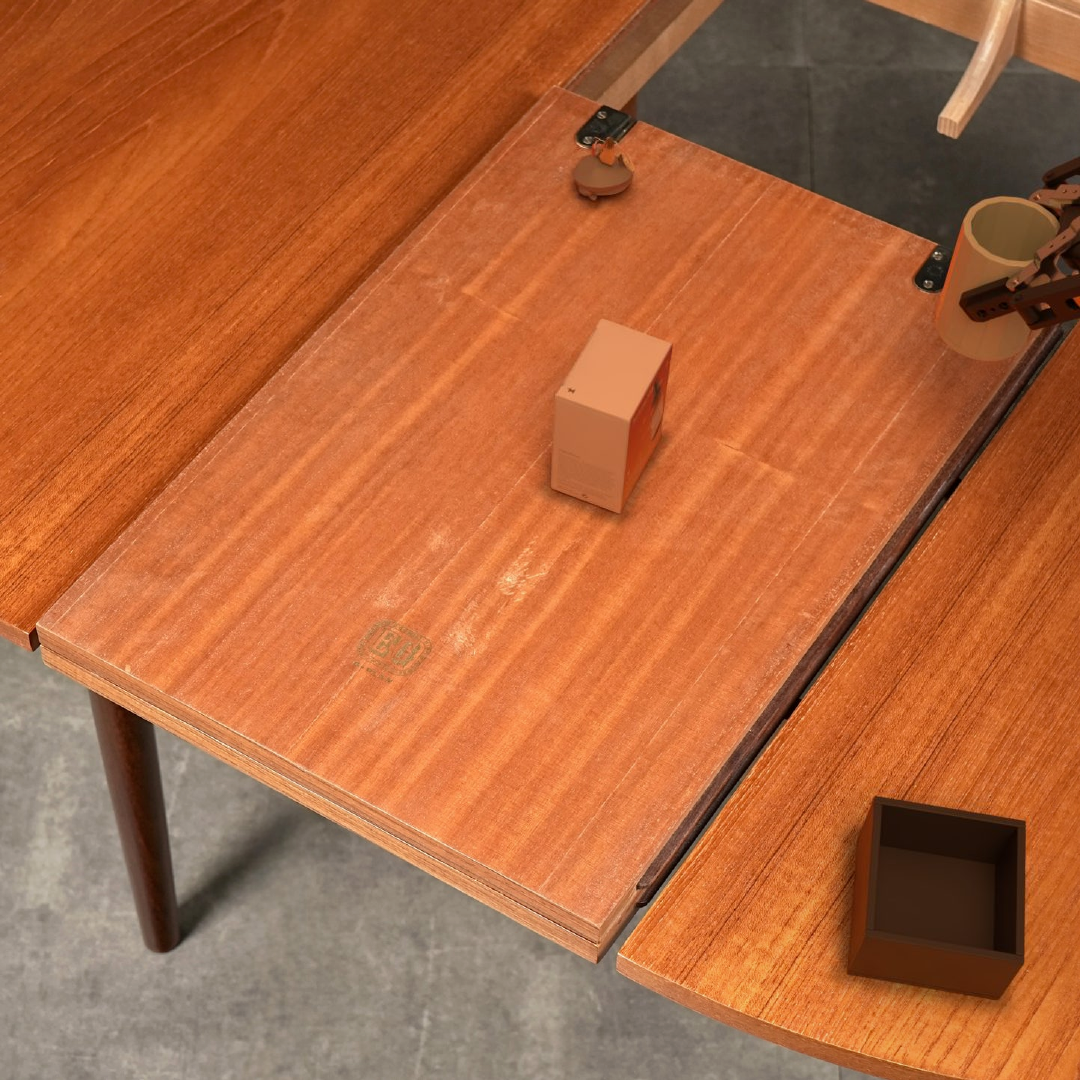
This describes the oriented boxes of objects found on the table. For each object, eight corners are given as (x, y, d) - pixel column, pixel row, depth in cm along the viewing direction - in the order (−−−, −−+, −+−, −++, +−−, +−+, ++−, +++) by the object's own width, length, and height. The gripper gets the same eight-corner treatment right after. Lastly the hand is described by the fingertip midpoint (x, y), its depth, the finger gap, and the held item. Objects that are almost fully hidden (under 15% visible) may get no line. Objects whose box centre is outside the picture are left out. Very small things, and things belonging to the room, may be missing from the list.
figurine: (577, 210, 138) (580, 154, 133) (566, 173, 140) (568, 116, 135) (640, 202, 138) (646, 146, 133) (628, 165, 141) (633, 109, 136)
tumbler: (1048, 332, 116) (1084, 236, 109) (985, 376, 114) (1018, 280, 107) (978, 279, 119) (1009, 182, 112) (915, 321, 117) (943, 224, 109)
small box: (620, 517, 120) (629, 424, 112) (548, 489, 121) (552, 395, 113) (663, 437, 124) (675, 341, 116) (593, 411, 126) (600, 314, 117)
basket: (998, 1000, 101) (1024, 963, 96) (847, 974, 101) (865, 936, 97) (1001, 862, 106) (1026, 820, 101) (857, 838, 107) (874, 795, 102)
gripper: (1201, 63, 103) (967, 161, 115) (1170, 221, 96) (922, 309, 107) (1258, 150, 107) (1025, 237, 119) (1233, 309, 99) (986, 386, 111)
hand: (977, 271), depth 113 cm, fingers closed on tumbler, 6 cm apart
